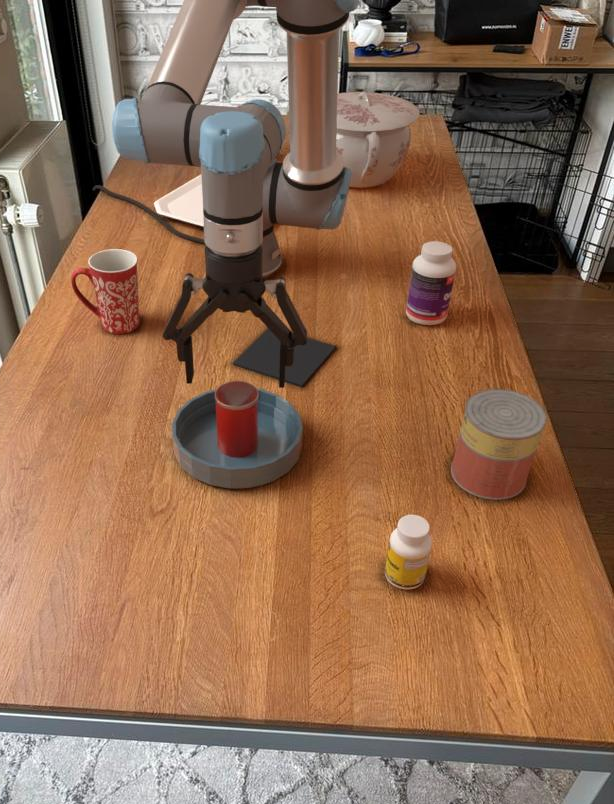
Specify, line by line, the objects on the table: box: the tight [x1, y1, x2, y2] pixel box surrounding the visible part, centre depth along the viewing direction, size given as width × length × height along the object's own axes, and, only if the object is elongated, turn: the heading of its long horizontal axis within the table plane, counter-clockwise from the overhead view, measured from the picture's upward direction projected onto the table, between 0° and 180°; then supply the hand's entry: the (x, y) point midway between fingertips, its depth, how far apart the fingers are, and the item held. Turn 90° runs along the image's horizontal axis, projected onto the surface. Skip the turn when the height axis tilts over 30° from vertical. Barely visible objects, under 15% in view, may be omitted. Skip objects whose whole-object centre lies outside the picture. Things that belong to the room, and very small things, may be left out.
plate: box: [153, 174, 204, 229], centre depth 188 cm, size 29×29×2 cm
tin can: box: [215, 380, 259, 457], centre depth 120 cm, size 7×7×10 cm
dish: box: [171, 387, 304, 490], centre depth 122 cm, size 20×20×4 cm
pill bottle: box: [405, 240, 457, 326], centre depth 147 cm, size 8×8×14 cm
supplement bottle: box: [384, 514, 433, 590], centre depth 101 cm, size 5×5×10 cm
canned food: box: [450, 388, 548, 501], centre depth 115 cm, size 11×11×12 cm
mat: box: [232, 327, 337, 388], centre depth 142 cm, size 14×14×1 cm
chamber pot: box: [336, 91, 421, 189], centre depth 195 cm, size 28×28×21 cm
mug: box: [70, 248, 140, 335], centre depth 146 cm, size 13×9×14 cm
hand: (236, 380), depth 115 cm, fingers open, 13 cm apart
